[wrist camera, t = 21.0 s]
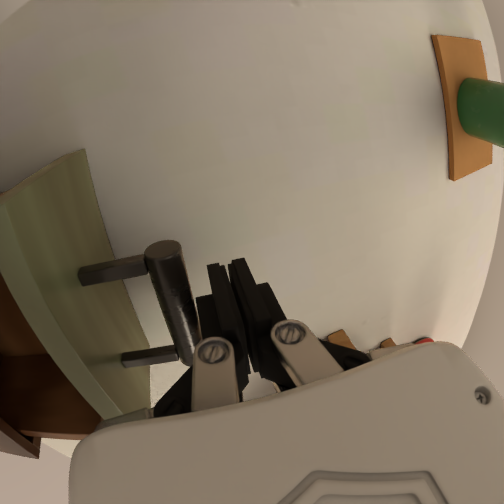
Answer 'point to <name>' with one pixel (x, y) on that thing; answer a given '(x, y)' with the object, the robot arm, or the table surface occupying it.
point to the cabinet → (18, 442)
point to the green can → (482, 109)
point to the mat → (452, 75)
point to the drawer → (78, 309)
